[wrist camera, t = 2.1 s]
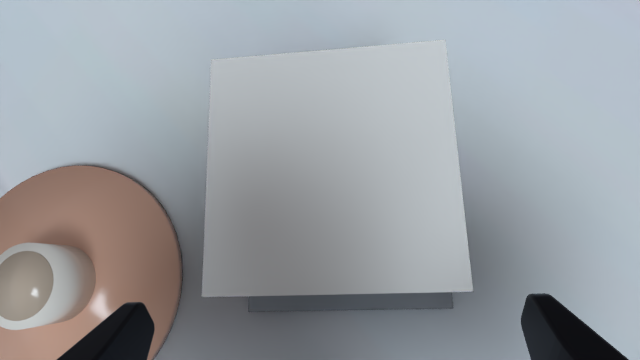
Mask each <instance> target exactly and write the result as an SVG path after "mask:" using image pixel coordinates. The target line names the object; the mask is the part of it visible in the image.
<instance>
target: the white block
mask: <svg viewBox="0 0 640 360" xmlns="http://www.w3.org/2000/svg"><path fill="white" fill-rule="evenodd" d="M434 292H473V285H472V276H471V266H470V257H469V248H468V239H467V230H466V221H465V212H464V203H463V194H462V185H461V176H460V167H459V158H458V149H457V140H456V131H455V122H454V113H453V104H452V95H451V86H450V77H449V68H448V59H447V50H446V41H445V40H435V41H423V42H412V43H400V44H388V45H376V46H365V47H353V48H341V49H329V50H318V51H306V52H294V53H283V54H271V55H259V56H247V57H236V58H224V59H212V60H211V76H210V101H209V126H208V152H207V177H206V202H205V227H204V252H203V277H202V297H240V296H288V295H337V294H385V293H434Z"/></svg>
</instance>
